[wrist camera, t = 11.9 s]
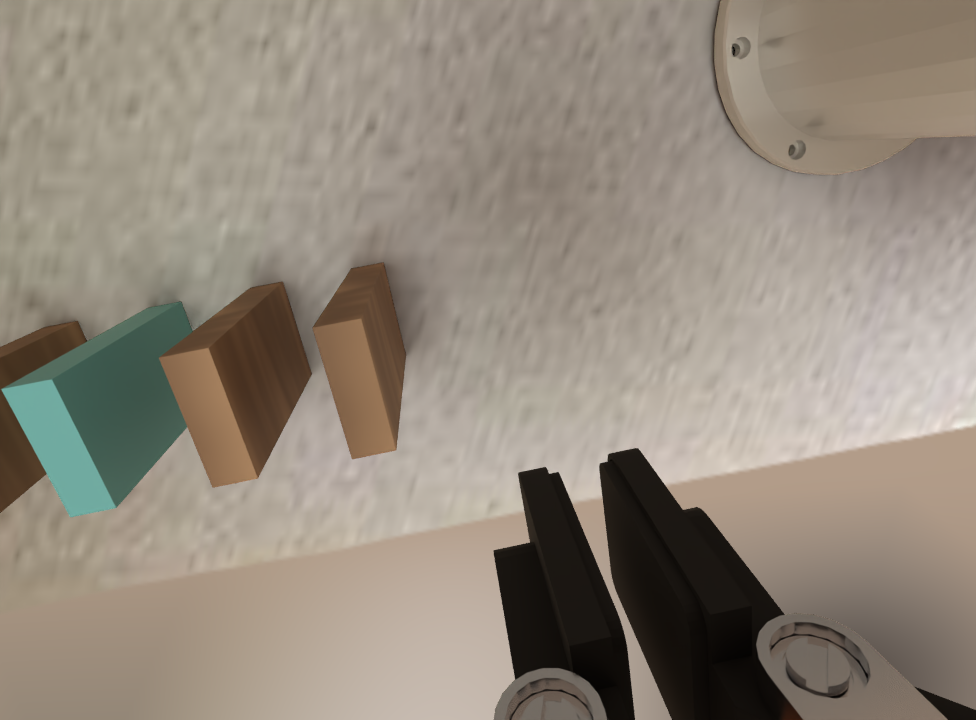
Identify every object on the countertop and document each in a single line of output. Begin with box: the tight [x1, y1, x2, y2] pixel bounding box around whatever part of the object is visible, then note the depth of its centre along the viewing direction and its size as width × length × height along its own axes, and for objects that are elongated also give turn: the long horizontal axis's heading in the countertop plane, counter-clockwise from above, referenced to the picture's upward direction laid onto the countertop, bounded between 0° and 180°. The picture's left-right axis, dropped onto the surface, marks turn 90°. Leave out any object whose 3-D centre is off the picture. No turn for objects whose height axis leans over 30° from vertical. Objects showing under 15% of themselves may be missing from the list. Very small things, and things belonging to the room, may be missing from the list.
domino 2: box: [1, 302, 193, 517], centre depth 23 cm, size 2×5×10 cm, turn 9°
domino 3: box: [159, 282, 312, 487], centre depth 23 cm, size 2×5×10 cm, turn 9°
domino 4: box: [313, 263, 406, 459], centre depth 24 cm, size 2×5×10 cm, turn 9°
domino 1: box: [0, 321, 87, 513], centre depth 23 cm, size 2×5×10 cm, turn 9°
